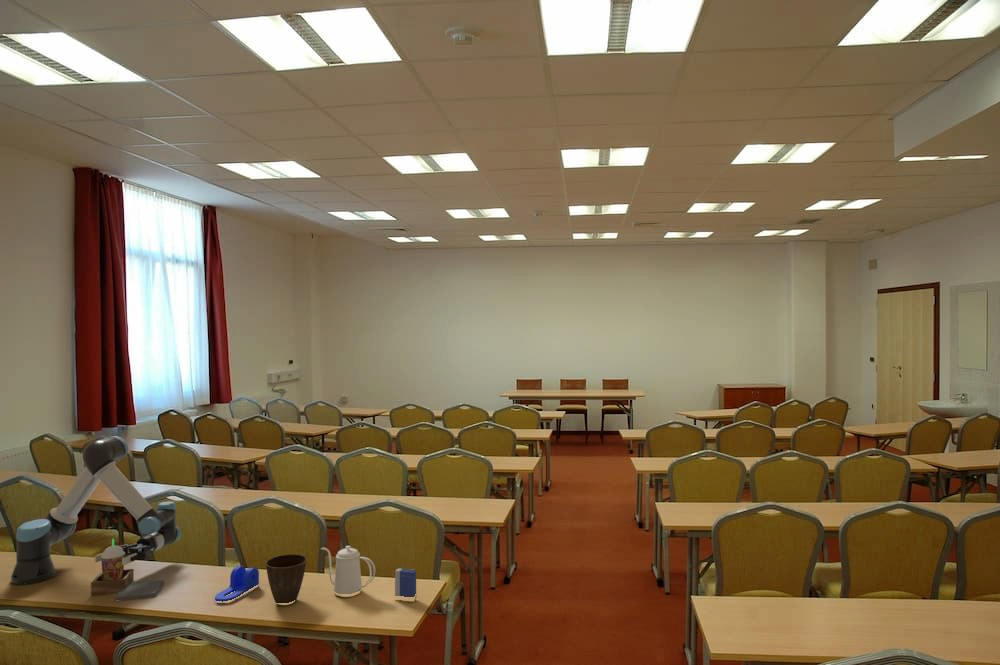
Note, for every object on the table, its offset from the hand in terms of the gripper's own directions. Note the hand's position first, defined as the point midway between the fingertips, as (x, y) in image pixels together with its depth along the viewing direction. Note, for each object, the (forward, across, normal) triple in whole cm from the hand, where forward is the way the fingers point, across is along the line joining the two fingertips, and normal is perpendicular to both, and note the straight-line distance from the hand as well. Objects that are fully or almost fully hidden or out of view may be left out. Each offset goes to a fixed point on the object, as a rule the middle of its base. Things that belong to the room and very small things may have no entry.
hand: (108, 560), depth 250 cm
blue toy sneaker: (-8, -53, -12) cm, 55 cm away
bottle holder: (-2, 0, -12) cm, 12 cm away
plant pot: (-6, -77, -12) cm, 78 cm away
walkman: (-18, -122, -12) cm, 124 cm away
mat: (-1, -14, -12) cm, 19 cm away
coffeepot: (-19, -96, -12) cm, 99 cm away
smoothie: (-2, 0, -12) cm, 12 cm away
